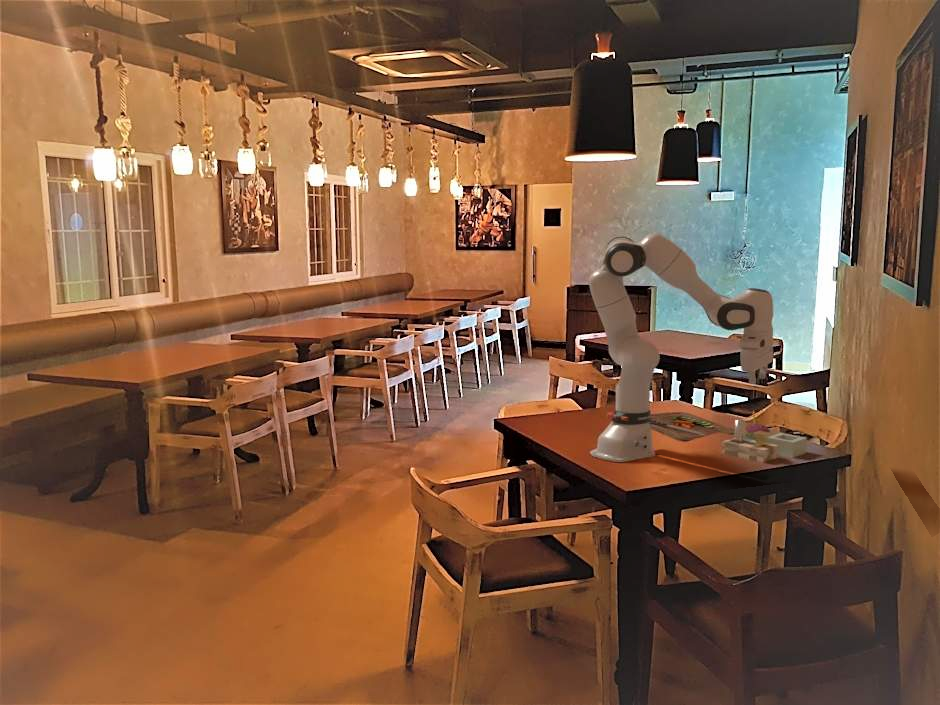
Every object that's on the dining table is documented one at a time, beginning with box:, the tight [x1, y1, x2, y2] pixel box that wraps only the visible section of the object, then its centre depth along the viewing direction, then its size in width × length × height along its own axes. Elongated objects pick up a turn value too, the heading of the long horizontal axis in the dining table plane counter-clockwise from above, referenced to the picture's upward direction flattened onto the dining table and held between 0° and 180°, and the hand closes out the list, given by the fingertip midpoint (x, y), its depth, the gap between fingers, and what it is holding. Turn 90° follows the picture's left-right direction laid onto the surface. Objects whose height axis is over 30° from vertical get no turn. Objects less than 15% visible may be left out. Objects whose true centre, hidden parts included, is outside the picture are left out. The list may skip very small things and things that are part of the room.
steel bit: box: [733, 418, 746, 444], centre depth 242 cm, size 3×3×11 cm
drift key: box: [753, 431, 771, 447], centre depth 237 cm, size 4×4×6 cm
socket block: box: [721, 437, 779, 464], centre depth 240 cm, size 9×14×5 cm, turn 39°
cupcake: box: [745, 408, 771, 441], centre depth 257 cm, size 9×8×12 cm
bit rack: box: [766, 432, 808, 459], centre depth 243 cm, size 9×9×6 cm
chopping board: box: [649, 411, 735, 443], centre depth 284 cm, size 45×27×3 cm, turn 18°
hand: (757, 380), depth 240 cm, fingers open, 8 cm apart
